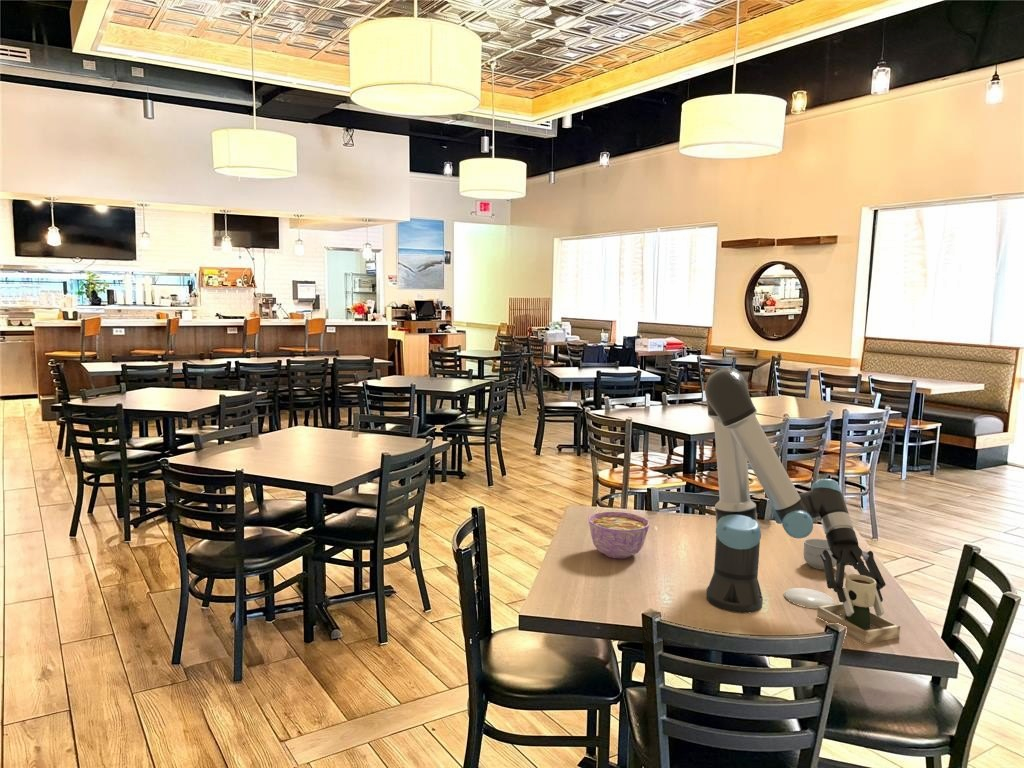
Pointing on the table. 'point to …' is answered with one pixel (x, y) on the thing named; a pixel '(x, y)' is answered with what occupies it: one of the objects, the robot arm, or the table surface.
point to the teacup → (816, 552)
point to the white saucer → (808, 597)
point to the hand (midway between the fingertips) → (865, 614)
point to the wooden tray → (882, 633)
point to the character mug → (860, 599)
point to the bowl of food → (618, 533)
